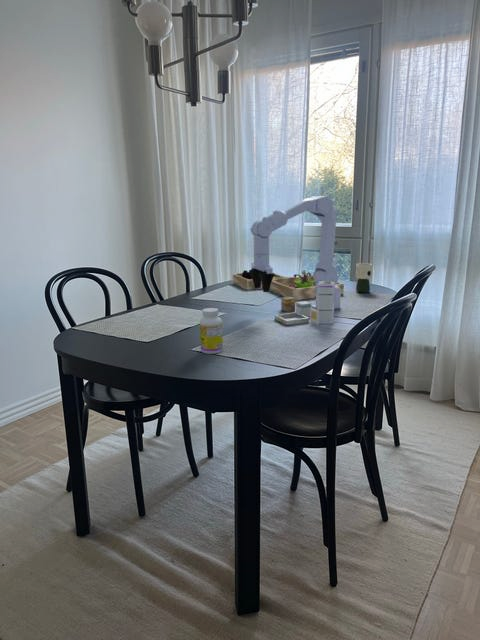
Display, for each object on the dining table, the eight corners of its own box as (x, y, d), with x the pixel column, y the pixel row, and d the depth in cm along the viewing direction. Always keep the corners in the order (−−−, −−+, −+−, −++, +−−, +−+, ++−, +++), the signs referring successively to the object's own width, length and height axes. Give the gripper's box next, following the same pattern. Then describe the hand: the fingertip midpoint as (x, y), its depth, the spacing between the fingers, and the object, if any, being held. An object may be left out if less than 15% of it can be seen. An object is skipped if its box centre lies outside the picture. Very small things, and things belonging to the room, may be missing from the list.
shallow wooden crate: (267, 280, 253) (267, 270, 251) (284, 286, 235) (284, 276, 234) (232, 283, 246) (232, 273, 244) (247, 290, 228) (247, 280, 227)
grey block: (305, 313, 184) (305, 301, 182) (310, 316, 180) (311, 303, 179) (296, 314, 182) (296, 302, 181) (301, 317, 179) (301, 304, 177)
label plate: (311, 321, 172) (311, 308, 171) (318, 324, 168) (319, 311, 167) (309, 321, 172) (310, 308, 171) (317, 325, 168) (317, 311, 166)
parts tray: (296, 316, 179) (296, 312, 179) (309, 322, 171) (309, 317, 170) (274, 319, 176) (274, 315, 175) (285, 325, 167) (286, 320, 167)
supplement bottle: (200, 347, 146) (199, 307, 142) (222, 347, 146) (221, 306, 143) (200, 355, 139) (199, 312, 136) (223, 354, 140) (222, 311, 136)
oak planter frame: (313, 285, 238) (314, 275, 236) (343, 294, 215) (343, 283, 213) (267, 289, 228) (267, 279, 227) (293, 300, 205) (293, 289, 204)
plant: (276, 296, 215) (276, 272, 213) (289, 288, 233) (289, 265, 230) (320, 299, 208) (320, 274, 205) (329, 291, 225) (330, 267, 222)
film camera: (274, 284, 243) (274, 266, 240) (268, 287, 234) (268, 269, 232) (246, 282, 248) (246, 265, 246) (239, 286, 240) (239, 268, 237)
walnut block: (290, 308, 192) (290, 296, 190) (295, 311, 188) (295, 298, 187) (281, 309, 190) (281, 297, 189) (285, 312, 186) (286, 299, 185)
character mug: (367, 295, 213) (369, 266, 210) (352, 293, 216) (353, 265, 213) (373, 290, 223) (374, 262, 219) (357, 289, 226) (359, 262, 222)
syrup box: (333, 324, 168) (334, 284, 165) (316, 323, 170) (317, 283, 166) (333, 320, 174) (335, 281, 170) (317, 319, 175) (318, 280, 171)
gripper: (243, 252, 180) (244, 287, 184) (259, 256, 167) (260, 294, 171) (260, 251, 183) (260, 285, 187) (277, 255, 170) (277, 292, 174)
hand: (261, 289), depth 179 cm, fingers open, 7 cm apart
